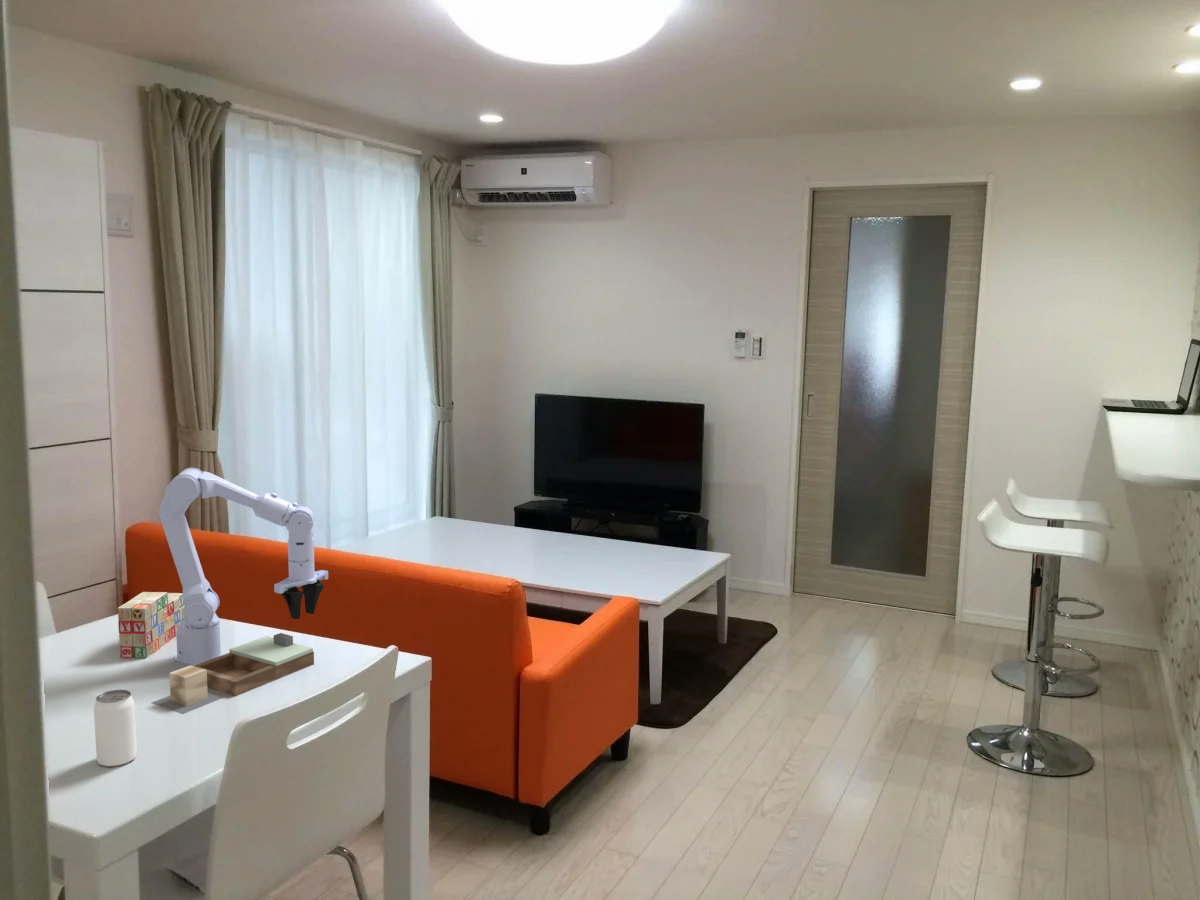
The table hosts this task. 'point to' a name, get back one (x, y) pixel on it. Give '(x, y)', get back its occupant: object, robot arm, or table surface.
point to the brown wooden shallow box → (248, 672)
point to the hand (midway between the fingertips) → (302, 615)
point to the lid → (272, 649)
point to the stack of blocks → (149, 622)
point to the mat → (183, 709)
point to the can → (115, 728)
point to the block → (188, 685)
